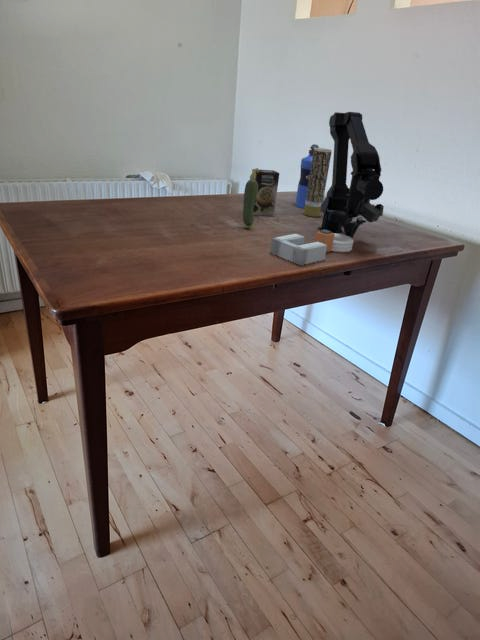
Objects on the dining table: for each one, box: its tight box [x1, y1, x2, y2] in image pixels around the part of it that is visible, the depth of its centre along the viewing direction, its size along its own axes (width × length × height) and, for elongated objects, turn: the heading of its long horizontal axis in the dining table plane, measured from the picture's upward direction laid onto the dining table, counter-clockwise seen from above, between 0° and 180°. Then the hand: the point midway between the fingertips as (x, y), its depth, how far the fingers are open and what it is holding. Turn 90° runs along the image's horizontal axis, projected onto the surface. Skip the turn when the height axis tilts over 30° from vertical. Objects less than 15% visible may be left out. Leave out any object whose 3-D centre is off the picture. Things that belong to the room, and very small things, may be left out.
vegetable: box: [242, 167, 260, 229], centre depth 151 cm, size 4×4×20 cm
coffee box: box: [251, 168, 280, 217], centre depth 172 cm, size 9×6×16 cm
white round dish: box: [330, 232, 355, 253], centre depth 144 cm, size 10×10×4 cm
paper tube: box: [303, 147, 333, 218], centre depth 176 cm, size 7×7×25 cm
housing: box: [270, 233, 327, 266], centre depth 132 cm, size 12×10×5 cm
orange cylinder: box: [313, 229, 335, 253], centre depth 139 cm, size 4×4×6 cm
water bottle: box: [294, 143, 320, 209], centre depth 190 cm, size 9×9×25 cm
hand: (348, 241), depth 148 cm, fingers closed
